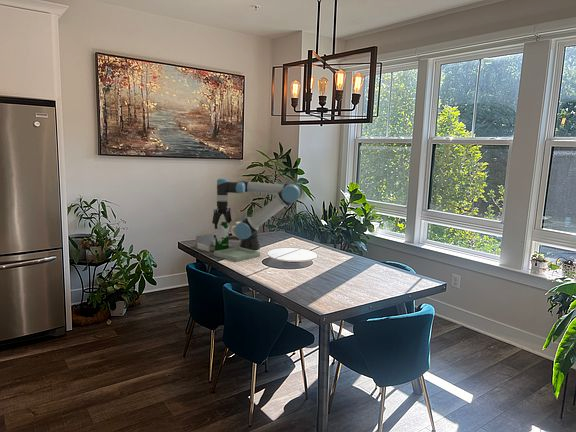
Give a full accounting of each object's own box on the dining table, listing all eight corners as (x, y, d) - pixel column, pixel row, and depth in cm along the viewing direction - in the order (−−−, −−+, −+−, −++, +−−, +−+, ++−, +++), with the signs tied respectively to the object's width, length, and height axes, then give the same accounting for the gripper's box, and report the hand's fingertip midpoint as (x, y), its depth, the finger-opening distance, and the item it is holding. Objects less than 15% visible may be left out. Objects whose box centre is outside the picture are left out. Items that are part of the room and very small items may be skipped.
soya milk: (221, 251, 293) (221, 223, 290) (212, 249, 299) (213, 221, 296) (230, 249, 300) (231, 222, 297) (222, 247, 306) (222, 220, 302)
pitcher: (227, 238, 343) (227, 221, 341) (246, 236, 354) (246, 220, 352) (234, 240, 334) (234, 223, 332) (253, 238, 345) (253, 222, 343)
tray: (259, 256, 288) (260, 252, 288) (236, 262, 271) (236, 257, 271) (237, 250, 302) (237, 246, 302) (214, 255, 285) (214, 251, 285)
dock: (225, 248, 309) (225, 236, 307) (208, 251, 297) (208, 238, 295) (212, 244, 317) (212, 233, 316) (196, 248, 305) (196, 235, 304)
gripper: (230, 199, 305) (229, 229, 308) (206, 201, 288) (206, 233, 292) (237, 200, 300) (236, 231, 303) (213, 202, 283) (213, 235, 287)
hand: (221, 232), depth 297 cm, fingers closed on soya milk, 9 cm apart
